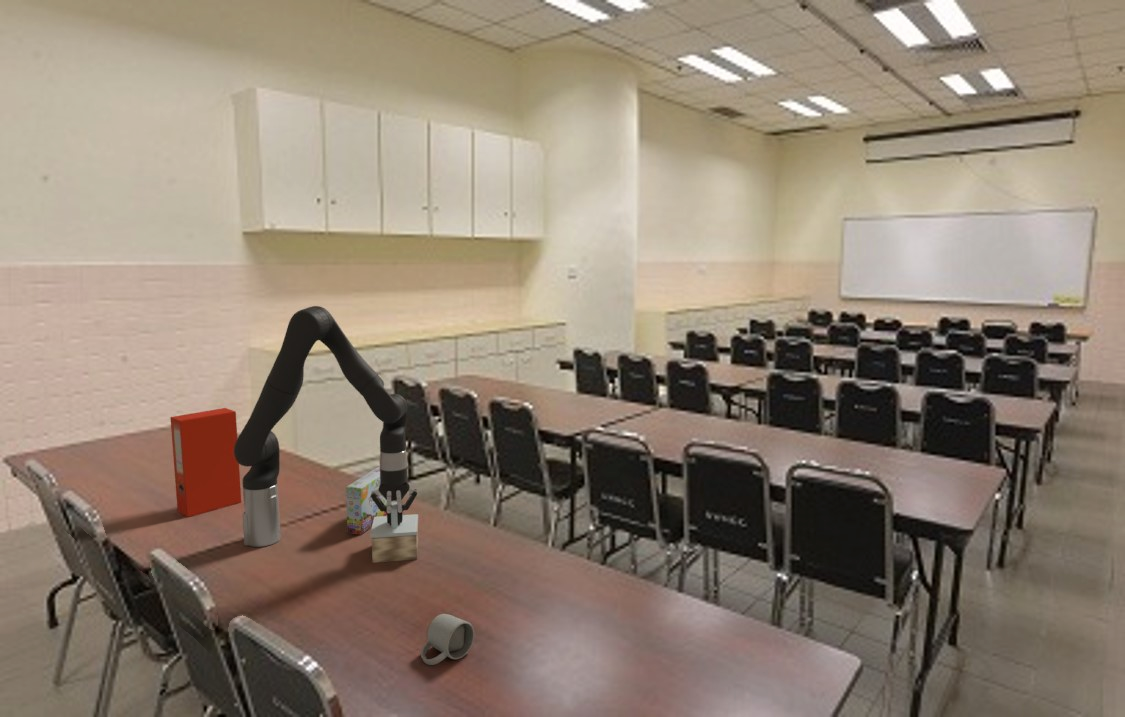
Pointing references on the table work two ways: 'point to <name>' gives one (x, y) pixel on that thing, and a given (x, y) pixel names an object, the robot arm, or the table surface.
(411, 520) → the lid
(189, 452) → the file binder
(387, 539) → the box
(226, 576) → the table surface
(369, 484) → the snack box
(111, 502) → the table surface
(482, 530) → the table surface
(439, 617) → the ceramic mug
